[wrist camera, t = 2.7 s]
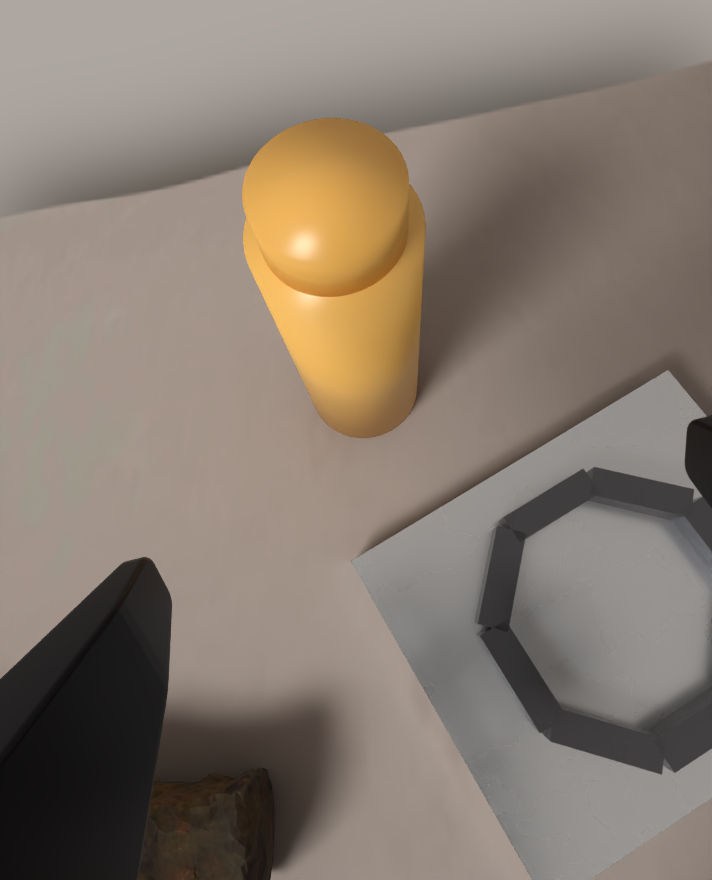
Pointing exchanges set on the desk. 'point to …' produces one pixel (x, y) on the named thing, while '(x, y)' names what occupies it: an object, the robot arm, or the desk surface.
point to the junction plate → (570, 633)
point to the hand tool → (210, 829)
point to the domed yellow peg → (341, 267)
